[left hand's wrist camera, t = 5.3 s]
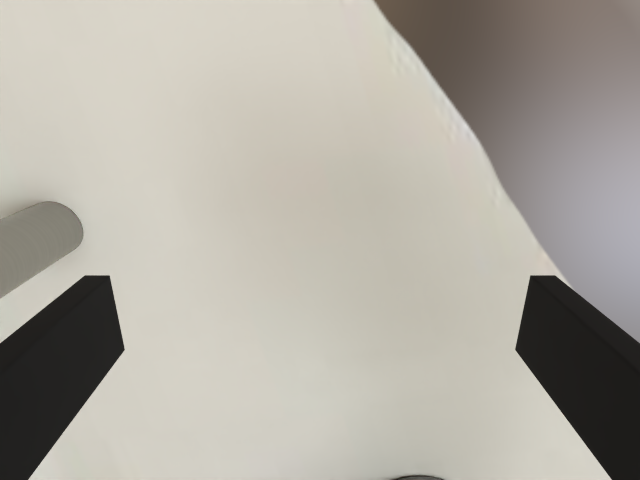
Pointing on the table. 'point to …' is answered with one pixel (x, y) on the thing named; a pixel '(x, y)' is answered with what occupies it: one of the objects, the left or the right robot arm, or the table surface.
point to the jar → (35, 242)
